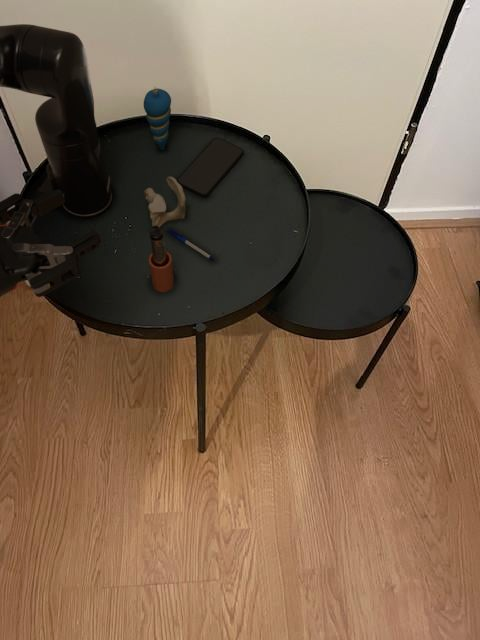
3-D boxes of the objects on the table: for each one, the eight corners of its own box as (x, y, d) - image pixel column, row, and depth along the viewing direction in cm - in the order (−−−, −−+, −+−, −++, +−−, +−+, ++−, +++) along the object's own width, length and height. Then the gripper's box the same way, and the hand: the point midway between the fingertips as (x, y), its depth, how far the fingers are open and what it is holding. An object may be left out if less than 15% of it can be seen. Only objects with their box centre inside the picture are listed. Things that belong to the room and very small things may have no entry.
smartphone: (174, 181, 108) (215, 135, 114) (174, 184, 108) (215, 139, 115) (206, 196, 106) (246, 149, 113) (206, 200, 107) (245, 153, 113)
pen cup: (149, 289, 96) (145, 265, 90) (156, 272, 98) (153, 248, 92) (170, 294, 95) (167, 270, 89) (176, 277, 97) (174, 253, 91)
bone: (127, 218, 101) (141, 167, 96) (145, 210, 107) (158, 161, 102) (167, 239, 100) (183, 188, 95) (183, 229, 106) (198, 181, 101)
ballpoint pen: (167, 233, 102) (166, 230, 101) (170, 230, 103) (170, 227, 102) (212, 261, 99) (212, 258, 99) (215, 258, 100) (215, 255, 99)
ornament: (178, 144, 114) (173, 80, 101) (169, 161, 112) (164, 98, 99) (154, 139, 115) (147, 74, 102) (145, 155, 112) (136, 92, 99)
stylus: (155, 285, 96) (147, 236, 84) (159, 276, 97) (152, 226, 85) (166, 288, 95) (160, 239, 84) (170, 279, 96) (164, 229, 85)
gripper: (-21, 304, 59) (106, 230, 65) (-80, 223, 64) (43, 161, 70) (2, 337, 66) (116, 267, 72) (-53, 261, 71) (57, 201, 77)
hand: (80, 215), depth 71 cm, fingers open, 8 cm apart
